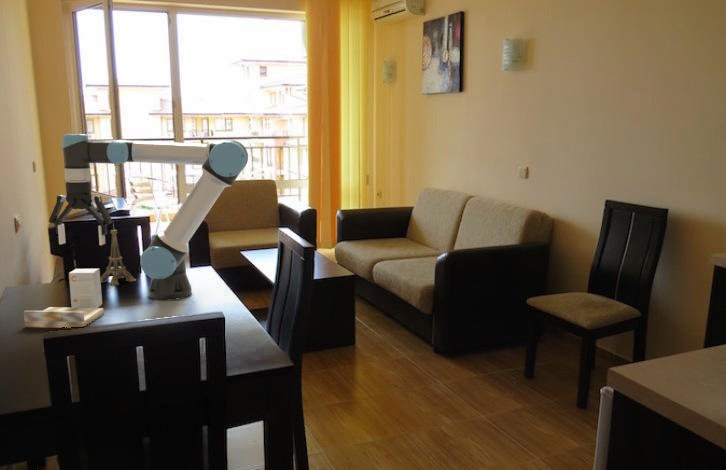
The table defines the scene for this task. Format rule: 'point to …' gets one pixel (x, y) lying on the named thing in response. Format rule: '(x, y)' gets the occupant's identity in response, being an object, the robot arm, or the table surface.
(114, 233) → the eiffel tower
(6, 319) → the table surface
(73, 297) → the small box
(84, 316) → the shelf board
